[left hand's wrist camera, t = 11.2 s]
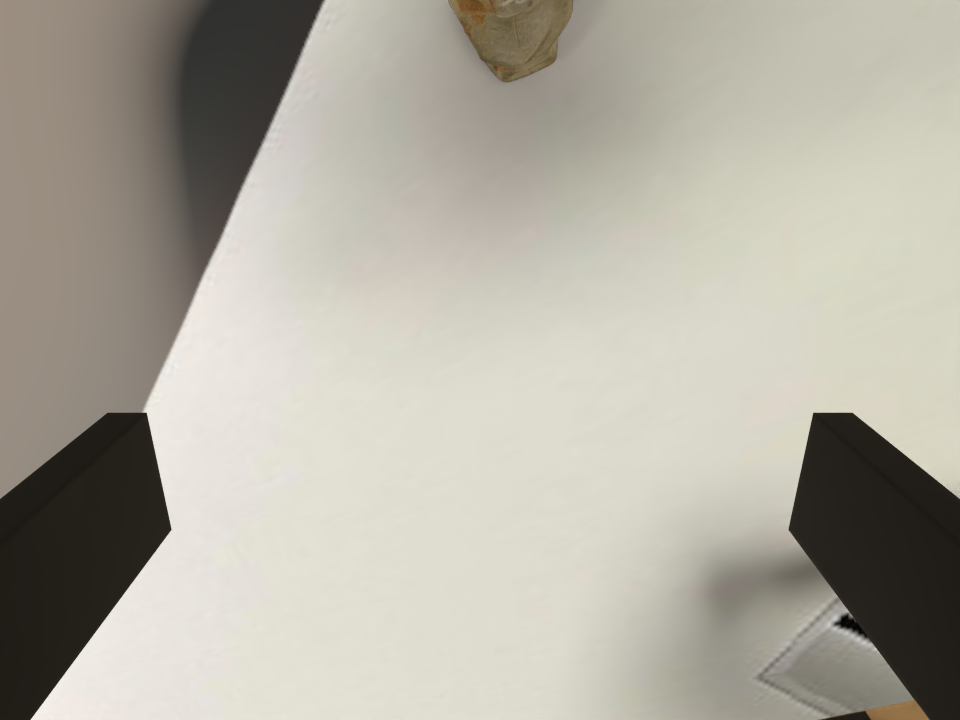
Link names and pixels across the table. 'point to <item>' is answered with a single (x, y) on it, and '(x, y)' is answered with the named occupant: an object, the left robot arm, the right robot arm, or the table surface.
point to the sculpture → (514, 32)
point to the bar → (896, 712)
